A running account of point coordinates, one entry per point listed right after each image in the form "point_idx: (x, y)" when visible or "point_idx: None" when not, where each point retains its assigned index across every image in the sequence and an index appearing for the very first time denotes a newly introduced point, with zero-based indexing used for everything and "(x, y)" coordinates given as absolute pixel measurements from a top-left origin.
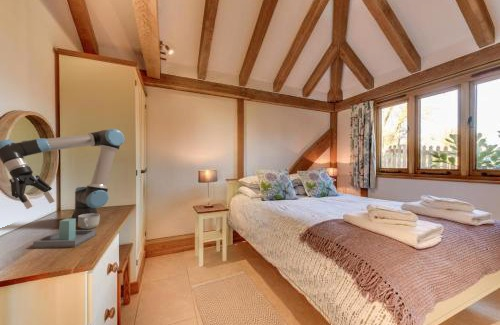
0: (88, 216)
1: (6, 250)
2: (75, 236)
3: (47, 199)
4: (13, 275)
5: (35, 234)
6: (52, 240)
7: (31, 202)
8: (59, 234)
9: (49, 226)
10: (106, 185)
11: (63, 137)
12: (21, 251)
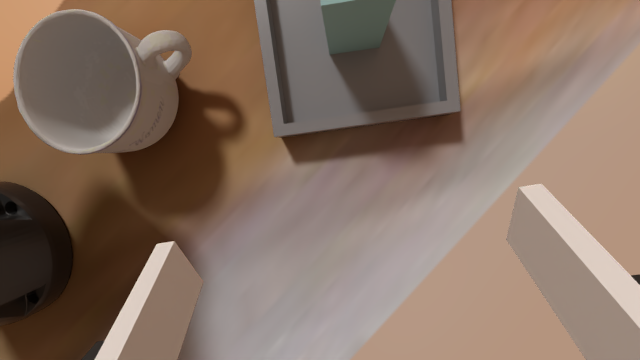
0: (57, 129)
1: (480, 208)
2: (307, 18)
3: (182, 335)
4: None
5: (277, 283)
6: (376, 88)
7: (555, 226)
8: (384, 32)
9: None
10: None
11: None
12: (490, 128)
